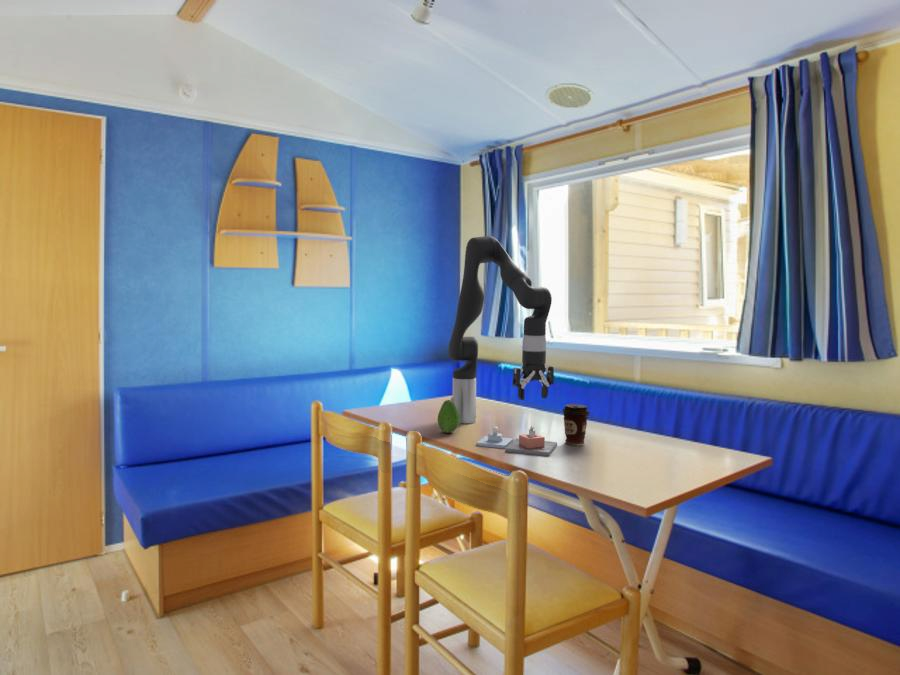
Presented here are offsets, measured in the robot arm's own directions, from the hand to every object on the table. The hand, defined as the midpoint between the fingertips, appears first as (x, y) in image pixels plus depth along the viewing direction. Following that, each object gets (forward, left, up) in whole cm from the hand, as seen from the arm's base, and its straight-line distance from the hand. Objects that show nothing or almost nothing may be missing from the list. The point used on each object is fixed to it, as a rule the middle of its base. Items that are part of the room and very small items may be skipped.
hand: (533, 398), depth 199 cm
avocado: (-33, +11, -17) cm, 39 cm away
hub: (0, 0, -16) cm, 16 cm away
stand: (-13, +2, -16) cm, 21 cm away
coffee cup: (+12, +12, -17) cm, 24 cm away
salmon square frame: (0, 0, -15) cm, 15 cm away
